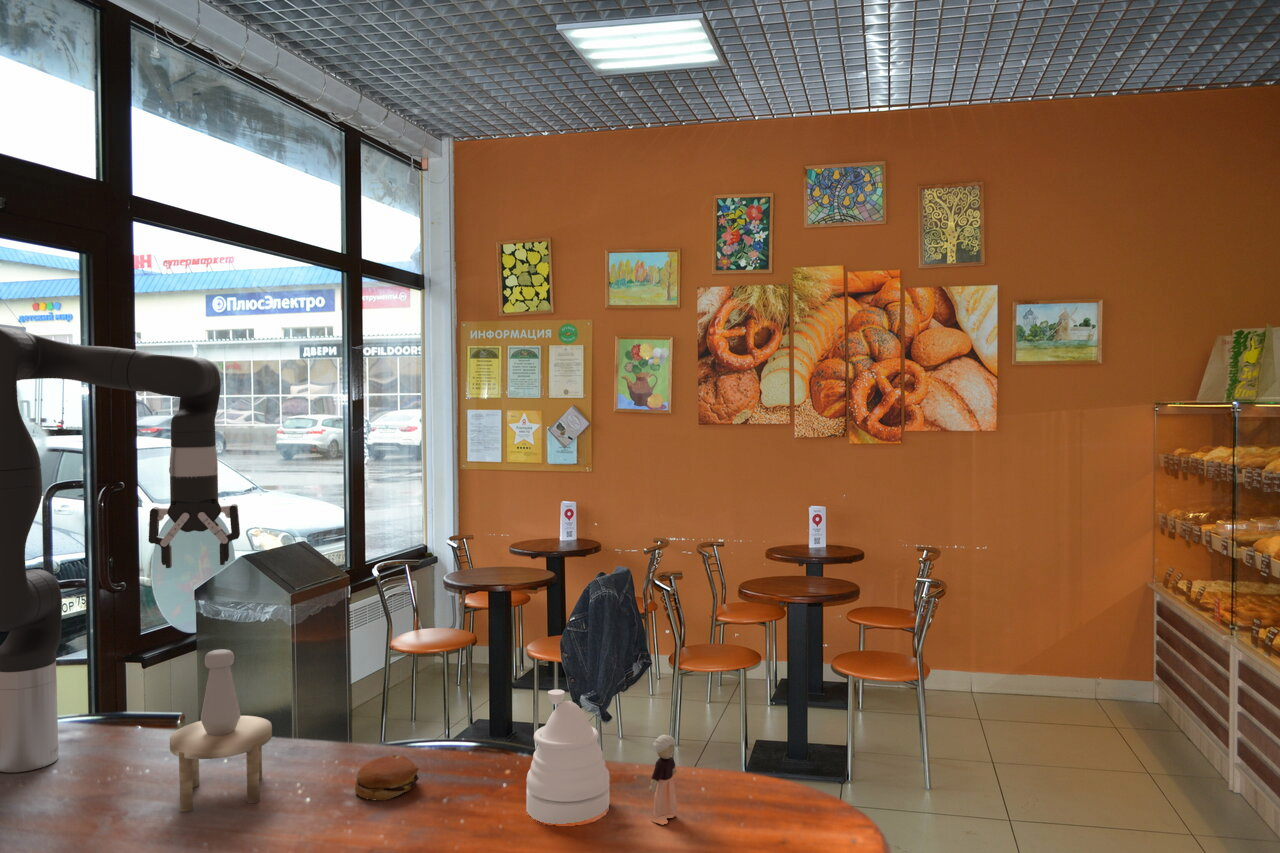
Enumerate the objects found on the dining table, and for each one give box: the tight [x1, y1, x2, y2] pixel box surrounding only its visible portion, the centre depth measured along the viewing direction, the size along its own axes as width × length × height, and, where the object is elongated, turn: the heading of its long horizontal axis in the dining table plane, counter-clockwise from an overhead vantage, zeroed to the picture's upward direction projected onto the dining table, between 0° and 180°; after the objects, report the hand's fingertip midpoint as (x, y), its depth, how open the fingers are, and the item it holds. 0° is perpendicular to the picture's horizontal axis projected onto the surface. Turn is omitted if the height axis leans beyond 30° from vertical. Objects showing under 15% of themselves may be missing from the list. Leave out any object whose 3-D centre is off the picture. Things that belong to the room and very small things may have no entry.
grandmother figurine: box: [648, 734, 678, 817], centre depth 146 cm, size 8×4×13 cm, turn 163°
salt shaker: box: [200, 648, 242, 736], centre depth 155 cm, size 6×6×13 cm
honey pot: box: [525, 688, 611, 824], centre depth 149 cm, size 13×13×18 cm
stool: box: [169, 715, 273, 813], centre depth 155 cm, size 15×15×10 cm
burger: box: [354, 754, 420, 801], centre depth 157 cm, size 10×9×5 cm
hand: (195, 565), depth 168 cm, fingers open, 8 cm apart
